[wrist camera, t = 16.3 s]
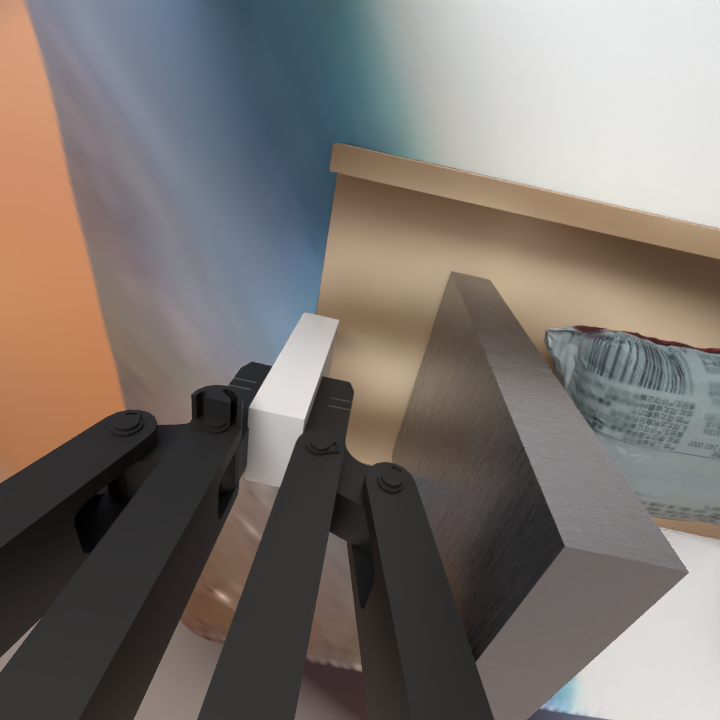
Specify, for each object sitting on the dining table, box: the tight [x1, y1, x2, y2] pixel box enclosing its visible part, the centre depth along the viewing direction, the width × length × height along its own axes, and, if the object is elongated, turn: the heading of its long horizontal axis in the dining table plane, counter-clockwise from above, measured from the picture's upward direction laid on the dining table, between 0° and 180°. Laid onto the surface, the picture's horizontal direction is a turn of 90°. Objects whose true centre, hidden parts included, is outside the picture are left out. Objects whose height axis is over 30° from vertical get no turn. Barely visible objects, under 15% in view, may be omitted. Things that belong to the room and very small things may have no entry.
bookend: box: [392, 271, 689, 720], centre depth 12 cm, size 10×2×12 cm, turn 169°
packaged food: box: [544, 325, 720, 526], centre depth 15 cm, size 9×12×5 cm
